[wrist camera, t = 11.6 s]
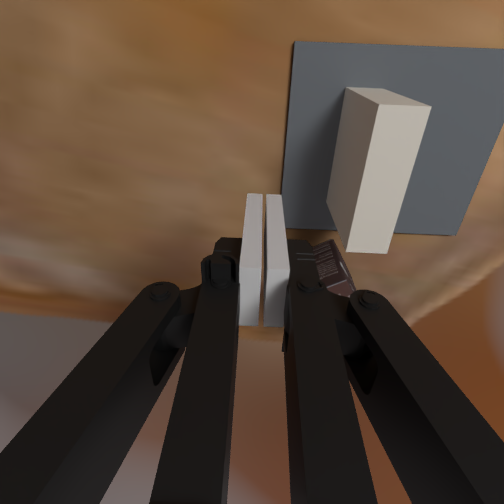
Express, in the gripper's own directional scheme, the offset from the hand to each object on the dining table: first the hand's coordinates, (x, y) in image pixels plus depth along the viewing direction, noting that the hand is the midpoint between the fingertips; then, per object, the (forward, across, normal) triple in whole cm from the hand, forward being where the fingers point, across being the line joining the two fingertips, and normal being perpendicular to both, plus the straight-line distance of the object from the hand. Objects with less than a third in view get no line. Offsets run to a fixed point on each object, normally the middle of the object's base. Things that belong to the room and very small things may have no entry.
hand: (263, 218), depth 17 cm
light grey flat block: (+14, +8, 0) cm, 16 cm away
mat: (+14, +11, 0) cm, 18 cm away
